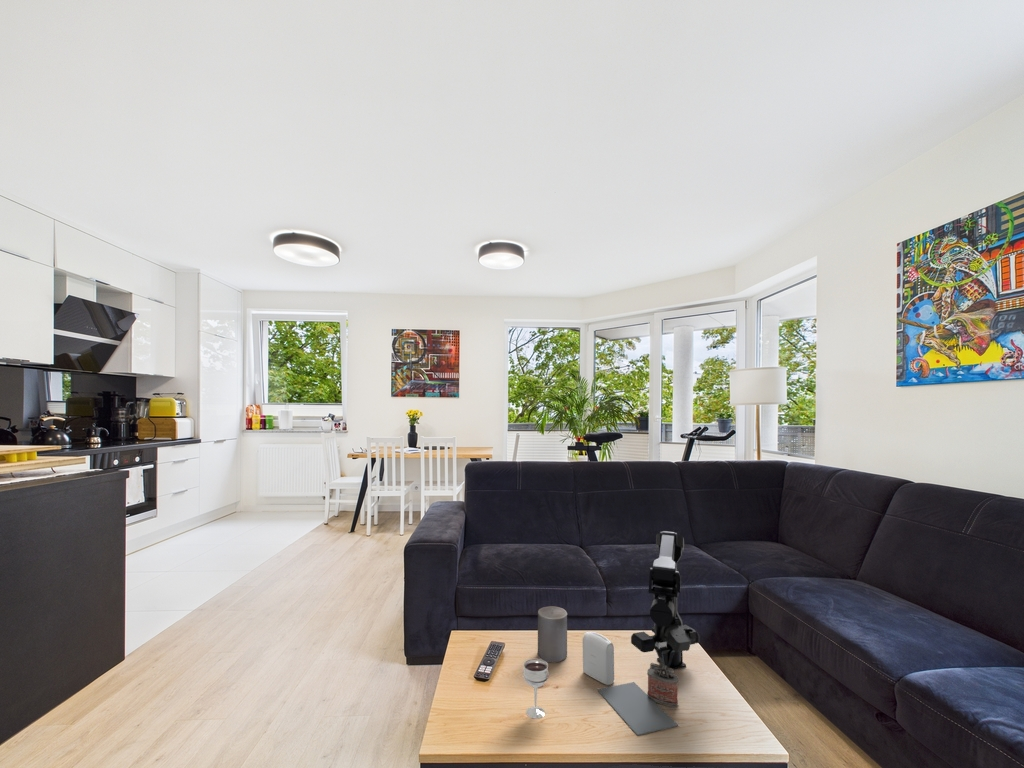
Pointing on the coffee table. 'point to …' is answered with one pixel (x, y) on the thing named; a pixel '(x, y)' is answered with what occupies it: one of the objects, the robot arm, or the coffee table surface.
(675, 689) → the lighter
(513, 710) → the coffee table surface
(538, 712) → the wineglass
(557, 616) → the pillar candle
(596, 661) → the photo printer
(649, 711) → the rubber mat
